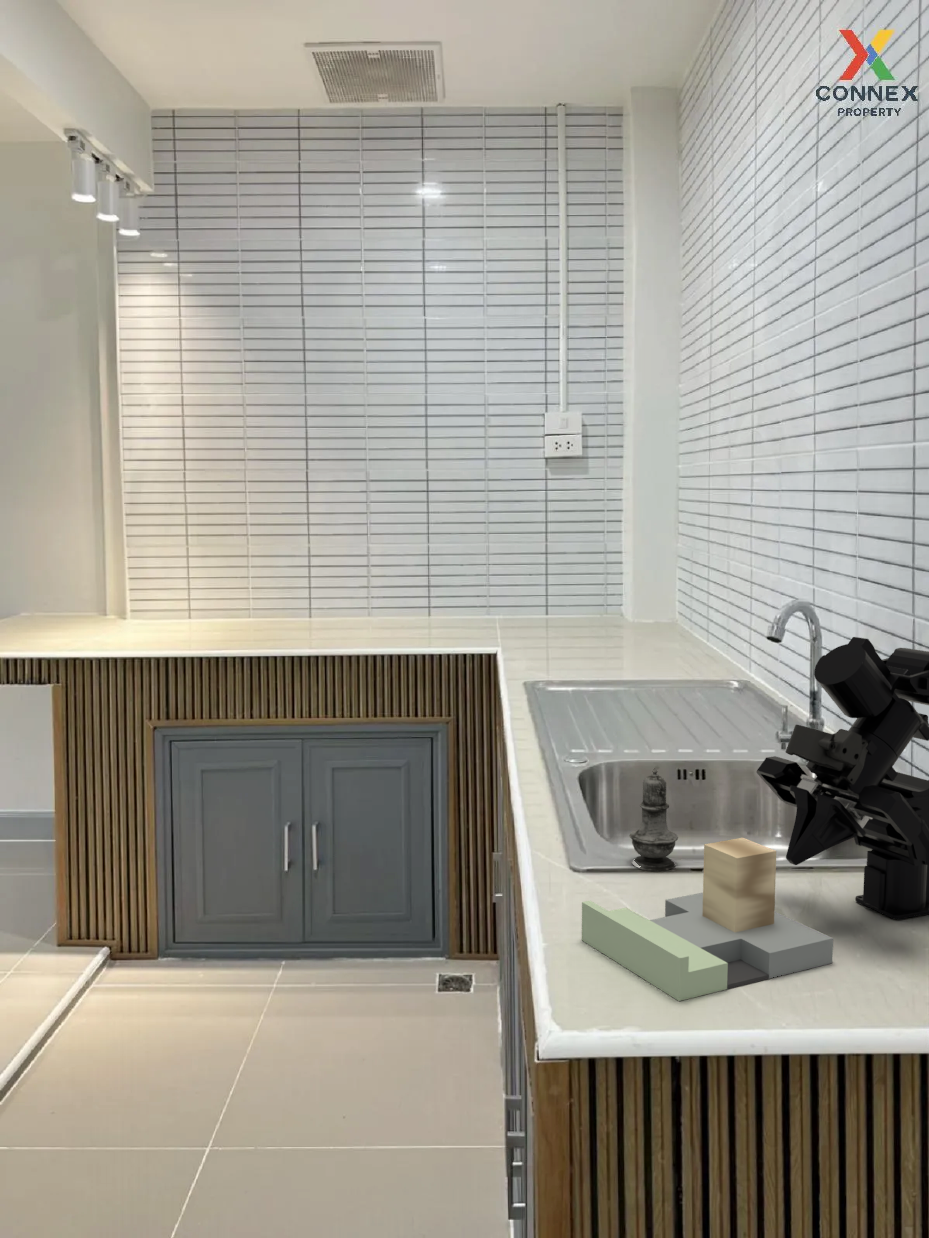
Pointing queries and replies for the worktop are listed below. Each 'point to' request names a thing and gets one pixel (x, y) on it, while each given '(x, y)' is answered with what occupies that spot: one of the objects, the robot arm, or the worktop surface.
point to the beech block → (739, 884)
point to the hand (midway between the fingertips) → (790, 861)
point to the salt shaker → (654, 827)
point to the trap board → (701, 947)
